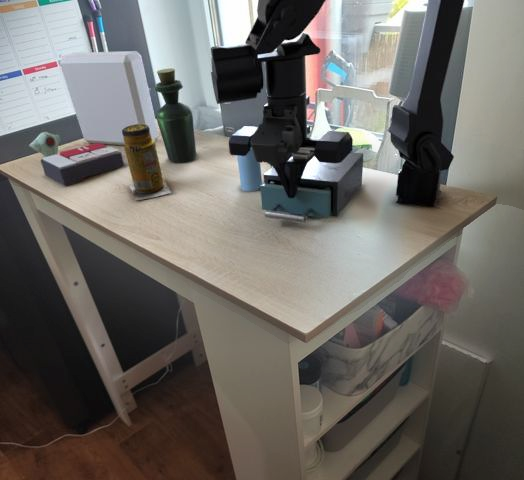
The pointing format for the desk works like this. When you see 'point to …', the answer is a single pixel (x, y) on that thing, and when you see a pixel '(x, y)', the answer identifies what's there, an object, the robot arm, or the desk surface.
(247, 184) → the water bottle
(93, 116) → the bevelled white case
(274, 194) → the drawer
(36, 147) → the robot head
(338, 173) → the cabinet
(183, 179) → the desk surface
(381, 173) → the desk surface
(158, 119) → the potion bottle
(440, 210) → the desk surface
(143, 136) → the condiment
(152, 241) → the desk surface
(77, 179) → the grey red box
